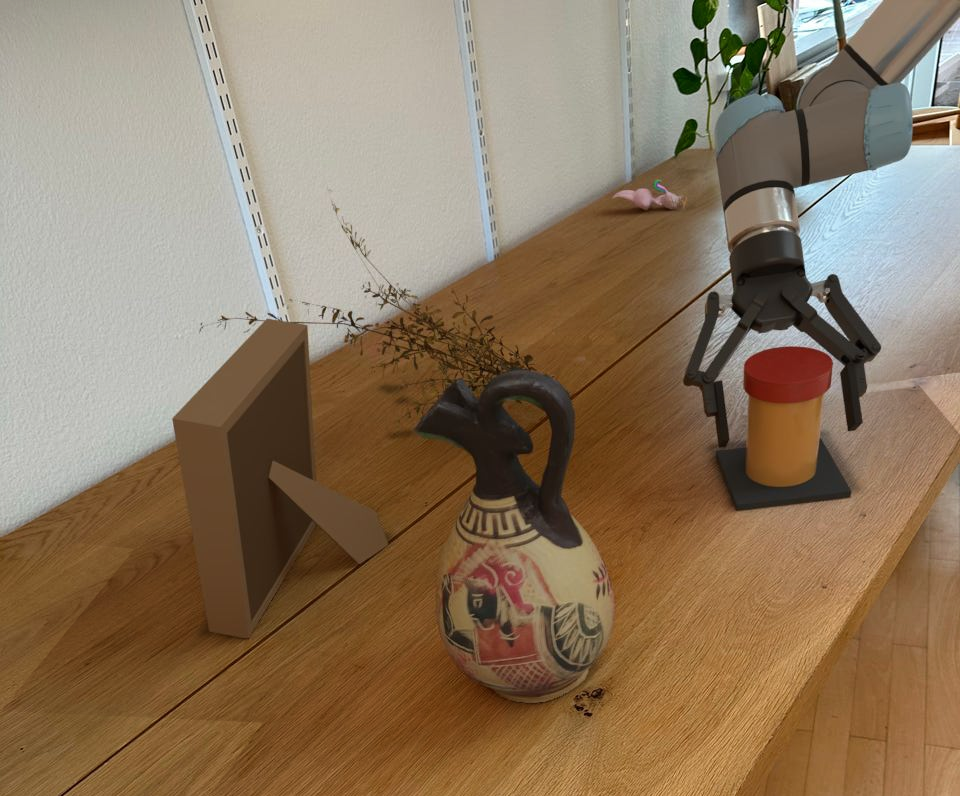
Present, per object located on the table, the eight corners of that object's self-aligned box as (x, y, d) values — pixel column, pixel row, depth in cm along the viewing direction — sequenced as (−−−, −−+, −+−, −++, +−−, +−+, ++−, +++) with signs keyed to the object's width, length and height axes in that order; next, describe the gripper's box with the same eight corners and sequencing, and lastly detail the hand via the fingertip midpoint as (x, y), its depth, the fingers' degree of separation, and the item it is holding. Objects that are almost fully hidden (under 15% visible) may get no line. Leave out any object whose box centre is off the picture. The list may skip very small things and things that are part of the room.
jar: (806, 448, 103) (815, 348, 96) (824, 482, 98) (835, 378, 90) (739, 457, 104) (742, 358, 97) (753, 491, 98) (758, 388, 91)
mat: (820, 443, 105) (820, 437, 105) (850, 497, 96) (851, 491, 96) (716, 456, 107) (716, 450, 106) (736, 510, 97) (736, 504, 97)
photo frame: (212, 638, 94) (114, 421, 78) (286, 522, 110) (218, 322, 94) (344, 641, 91) (269, 413, 75) (401, 520, 106) (349, 311, 90)
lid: (818, 361, 97) (819, 341, 96) (841, 397, 91) (844, 376, 89) (735, 372, 98) (736, 352, 97) (752, 408, 92) (753, 387, 90)
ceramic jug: (425, 719, 80) (341, 411, 61) (486, 611, 91) (431, 319, 72) (610, 752, 74) (581, 420, 55) (654, 632, 84) (642, 319, 65)
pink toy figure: (686, 209, 184) (614, 201, 187) (691, 178, 180) (617, 170, 183) (681, 219, 179) (608, 211, 183) (686, 187, 175) (611, 179, 179)
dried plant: (628, 254, 113) (302, 120, 115) (557, 386, 93) (167, 221, 95) (558, 439, 136) (289, 325, 138) (490, 574, 117) (179, 439, 119)
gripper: (872, 245, 100) (898, 430, 98) (646, 279, 103) (667, 460, 101) (895, 208, 92) (924, 408, 91) (650, 245, 95) (673, 440, 93)
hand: (789, 436), depth 96 cm, fingers open, 13 cm apart
